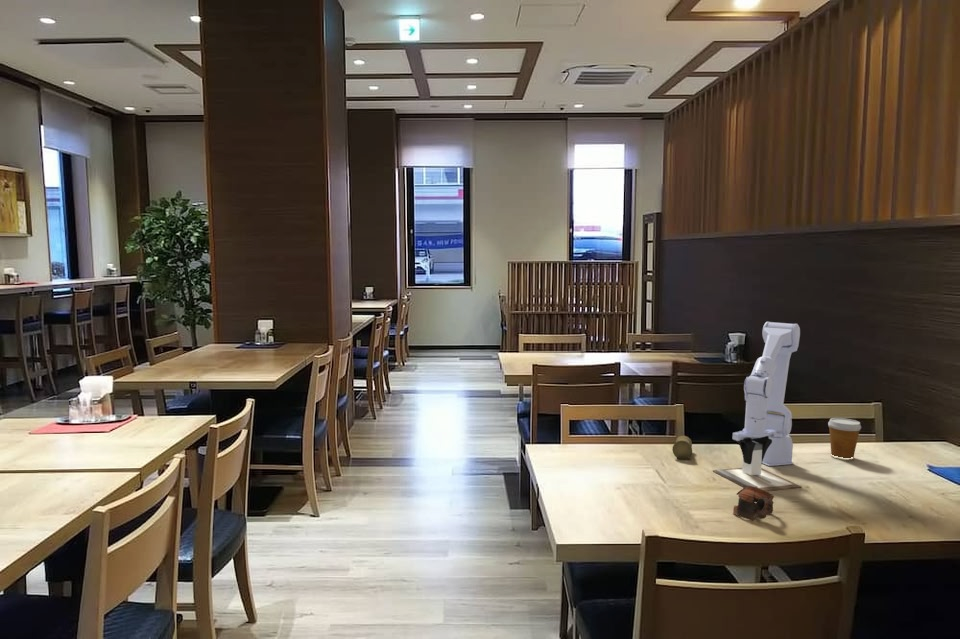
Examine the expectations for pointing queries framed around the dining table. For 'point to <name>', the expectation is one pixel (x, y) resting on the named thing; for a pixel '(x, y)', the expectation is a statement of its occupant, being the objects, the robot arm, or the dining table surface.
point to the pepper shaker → (682, 447)
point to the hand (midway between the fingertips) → (753, 462)
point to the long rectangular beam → (754, 461)
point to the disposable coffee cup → (843, 436)
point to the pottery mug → (753, 503)
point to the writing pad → (757, 479)
